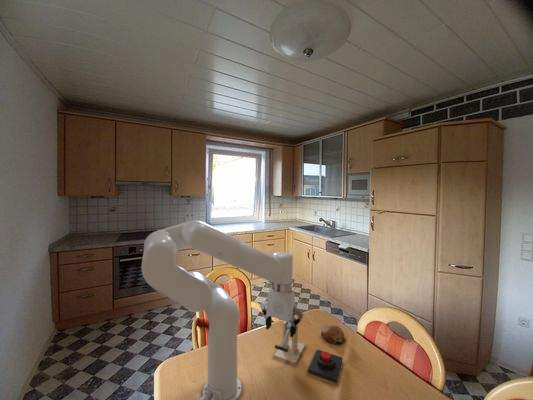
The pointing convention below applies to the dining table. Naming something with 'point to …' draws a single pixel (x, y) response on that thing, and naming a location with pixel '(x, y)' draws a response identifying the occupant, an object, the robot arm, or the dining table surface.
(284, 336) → the toaster lever
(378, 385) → the dining table surface
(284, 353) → the toaster bracket
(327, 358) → the button
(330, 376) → the control block
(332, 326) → the bread roll
